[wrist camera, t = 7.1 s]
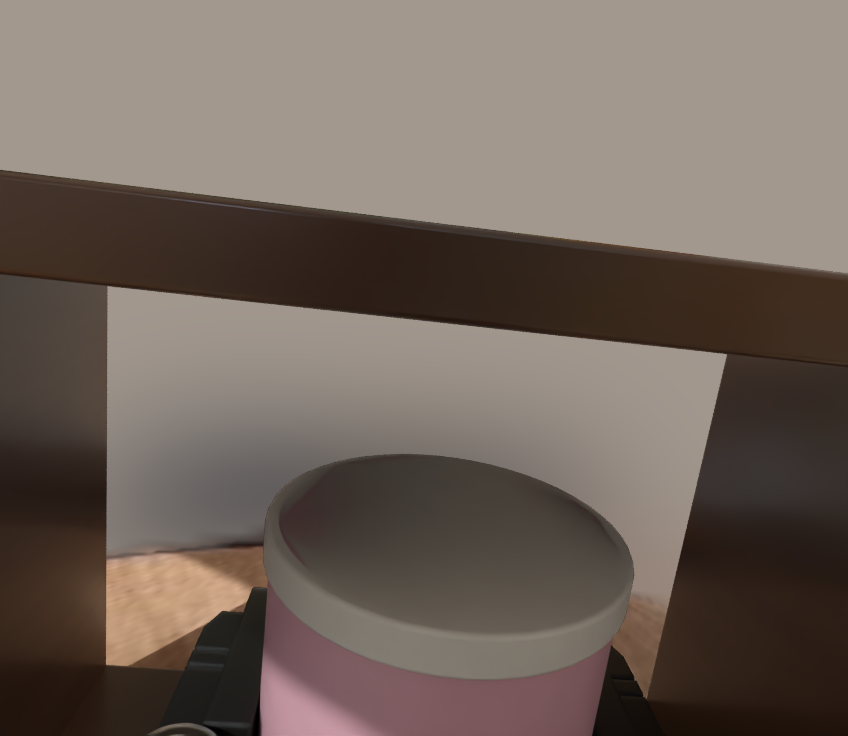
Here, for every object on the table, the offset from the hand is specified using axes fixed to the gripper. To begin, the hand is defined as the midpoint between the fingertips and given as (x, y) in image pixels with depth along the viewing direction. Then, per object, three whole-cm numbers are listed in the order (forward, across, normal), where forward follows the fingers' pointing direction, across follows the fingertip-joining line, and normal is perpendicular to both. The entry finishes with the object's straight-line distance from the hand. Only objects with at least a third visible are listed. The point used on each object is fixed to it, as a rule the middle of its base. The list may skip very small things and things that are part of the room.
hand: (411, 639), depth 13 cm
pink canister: (-3, 0, +6) cm, 7 cm away
